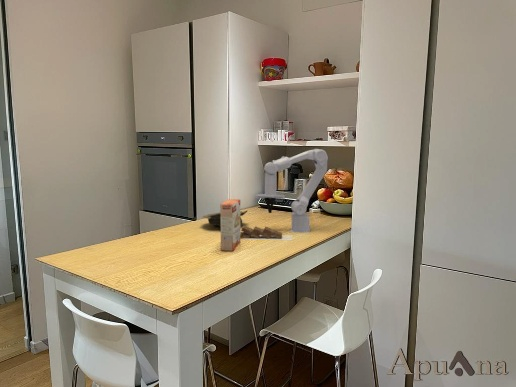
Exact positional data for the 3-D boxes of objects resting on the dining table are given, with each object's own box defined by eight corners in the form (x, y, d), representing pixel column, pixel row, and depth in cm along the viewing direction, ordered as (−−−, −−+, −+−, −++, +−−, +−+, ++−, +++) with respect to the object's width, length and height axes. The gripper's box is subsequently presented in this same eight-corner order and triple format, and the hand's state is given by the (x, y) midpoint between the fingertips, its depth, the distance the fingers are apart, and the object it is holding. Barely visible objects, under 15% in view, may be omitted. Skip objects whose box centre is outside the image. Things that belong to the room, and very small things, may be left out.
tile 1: (282, 232, 192) (265, 226, 192) (281, 235, 187) (264, 228, 187) (281, 236, 192) (263, 229, 192) (280, 238, 187) (263, 232, 187)
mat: (292, 236, 193) (292, 235, 193) (291, 241, 185) (291, 240, 184) (246, 235, 196) (246, 234, 196) (243, 240, 187) (243, 239, 187)
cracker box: (233, 251, 170) (232, 204, 166) (220, 251, 171) (219, 203, 168) (241, 243, 183) (240, 198, 180) (229, 242, 184) (228, 198, 181)
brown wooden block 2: (260, 232, 193) (243, 225, 193) (259, 235, 188) (242, 227, 188) (259, 235, 193) (242, 228, 193) (258, 238, 188) (241, 230, 188)
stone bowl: (243, 232, 202) (241, 214, 201) (197, 234, 207) (195, 217, 205) (251, 220, 226) (250, 205, 225) (210, 223, 231) (208, 207, 229)
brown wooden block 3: (272, 232, 192) (255, 226, 192) (271, 235, 187) (253, 228, 188) (270, 236, 192) (253, 229, 193) (270, 238, 187) (252, 232, 188)
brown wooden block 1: (251, 232, 193) (233, 231, 194) (250, 234, 188) (231, 234, 189) (251, 235, 193) (233, 235, 194) (250, 238, 189) (231, 238, 189)
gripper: (285, 185, 201) (284, 211, 203) (257, 184, 203) (256, 210, 205) (284, 187, 194) (284, 214, 197) (255, 186, 196) (255, 213, 198)
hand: (270, 212), depth 200 cm, fingers closed
